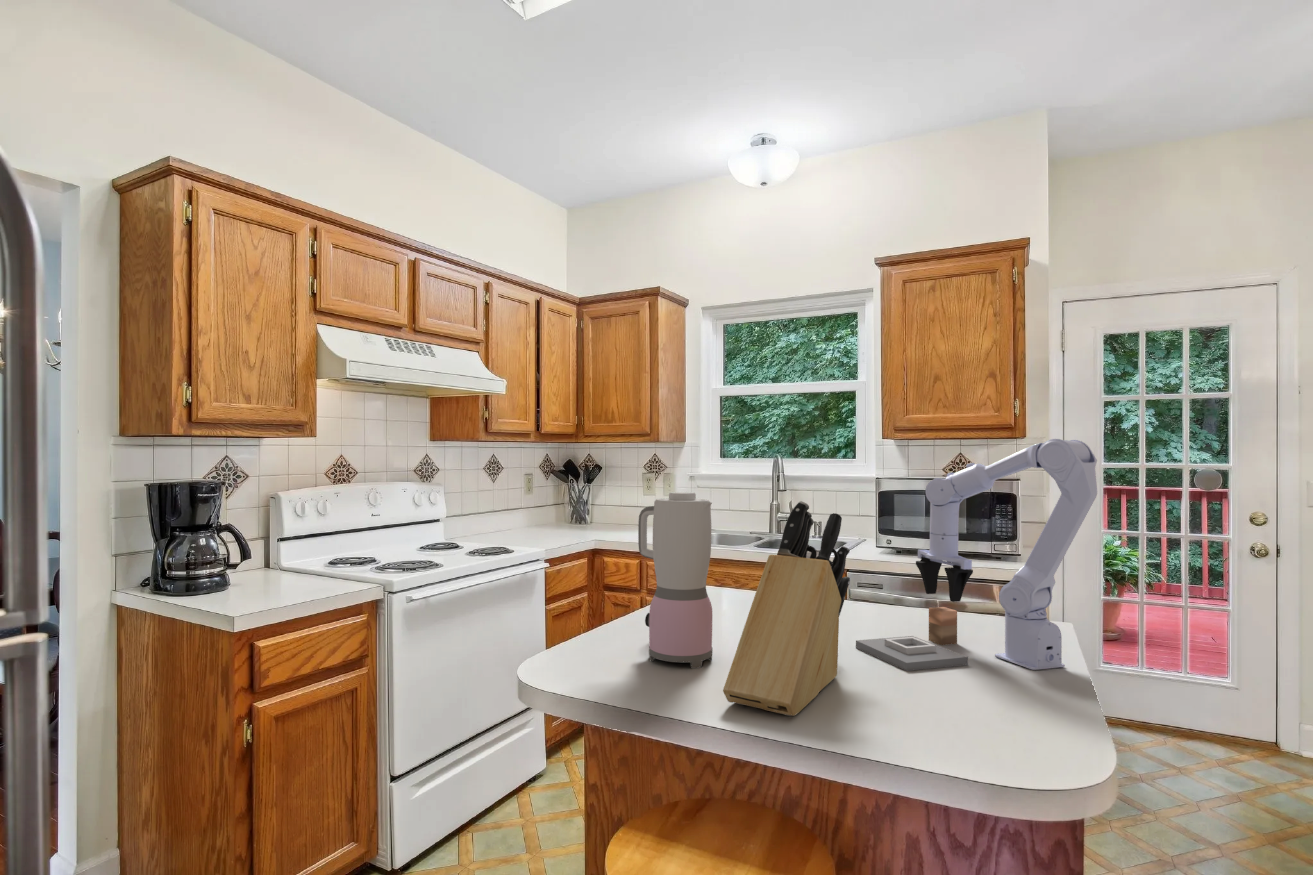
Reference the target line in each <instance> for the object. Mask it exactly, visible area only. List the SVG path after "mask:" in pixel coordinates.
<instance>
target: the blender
mask: <svg viewBox="0 0 1313 875" xmlns="http://www.w3.org/2000/svg"><path fill="white" fill-rule="evenodd" d="M696 495H697V494H696V493H695V492H692V491H691V492H690V491H688V492H687V491H675V492H674V491H672V492H669V493H668V497H667V498H665V497H662V498H656V499H655V500H654V501H653V502H654V504H653V505H652V506H651V505H649V506H645V507H644V508H643V509H642V510H641V511H640V512H639V516H638V524H637V526H638V527H637V530H638V536H637V537H638V538H637V539H638V540H637V541H638V551H639V553H640V555H641V556H642V557H643V558H644V557H645V558H646V559H647V558H648V559H650V560H653V564H654V574H655V578H656V588H655V589H656V590H655V591H654V592H655V593H654V595H653V597H652V599H651V602H650V606H649V612H647V613H646V616H645V619H644V623H645V626H647V628H648V630H649V633H648V638H649V641H648V642H649V645H648V658H649V661H650V662H654V661H655V659H657V660H660V661H663V662H664V661H665V662H669V663H690V668H691V669H699V668H701V667H703V666H702V665H703V661H705V660H708V661H712V659H713V605H712V601H711V599H710V597H709V594H708V591H707V578H708V573H709V568H710V567H709V566H710V562H711V552H712V510H711V509H712V508H711V507H712V504H713V502H711V501H710V500H709V499H704V498H696ZM651 515H652V516H653V517H652V549H650V548H648V517H649V516H651Z"/></svg>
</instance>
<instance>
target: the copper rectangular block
mask: <svg viewBox="0 0 1313 875" xmlns="http://www.w3.org/2000/svg"><path fill="white" fill-rule="evenodd" d="M928 642H931V643H933V644H936V645H939V646H948V645H949V646H950V645H958V610H955V609H953V608H952V609H951V608H948V607H946V606H940V607H939V606H938V607H937V606H936V607H928Z"/></svg>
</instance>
